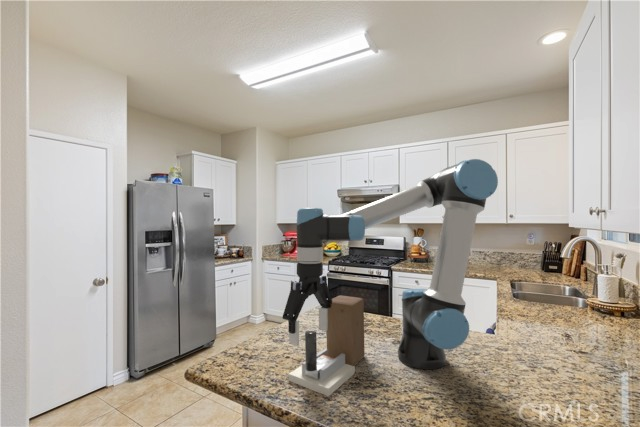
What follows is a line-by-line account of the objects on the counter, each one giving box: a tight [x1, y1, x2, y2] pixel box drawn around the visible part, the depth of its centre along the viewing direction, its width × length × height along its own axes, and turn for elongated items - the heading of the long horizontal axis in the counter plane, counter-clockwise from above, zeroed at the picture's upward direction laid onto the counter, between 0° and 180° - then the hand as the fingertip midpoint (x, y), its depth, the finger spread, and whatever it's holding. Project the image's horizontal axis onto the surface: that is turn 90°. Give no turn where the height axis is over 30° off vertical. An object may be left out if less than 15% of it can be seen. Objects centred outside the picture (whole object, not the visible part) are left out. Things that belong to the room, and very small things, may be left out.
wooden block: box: [326, 295, 366, 367], centre depth 100 cm, size 10×10×20 cm
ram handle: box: [304, 330, 335, 379], centre depth 87 cm, size 4×11×12 cm, turn 145°
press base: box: [288, 348, 356, 397], centre depth 88 cm, size 14×14×5 cm
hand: (309, 336), depth 84 cm, fingers open, 13 cm apart
